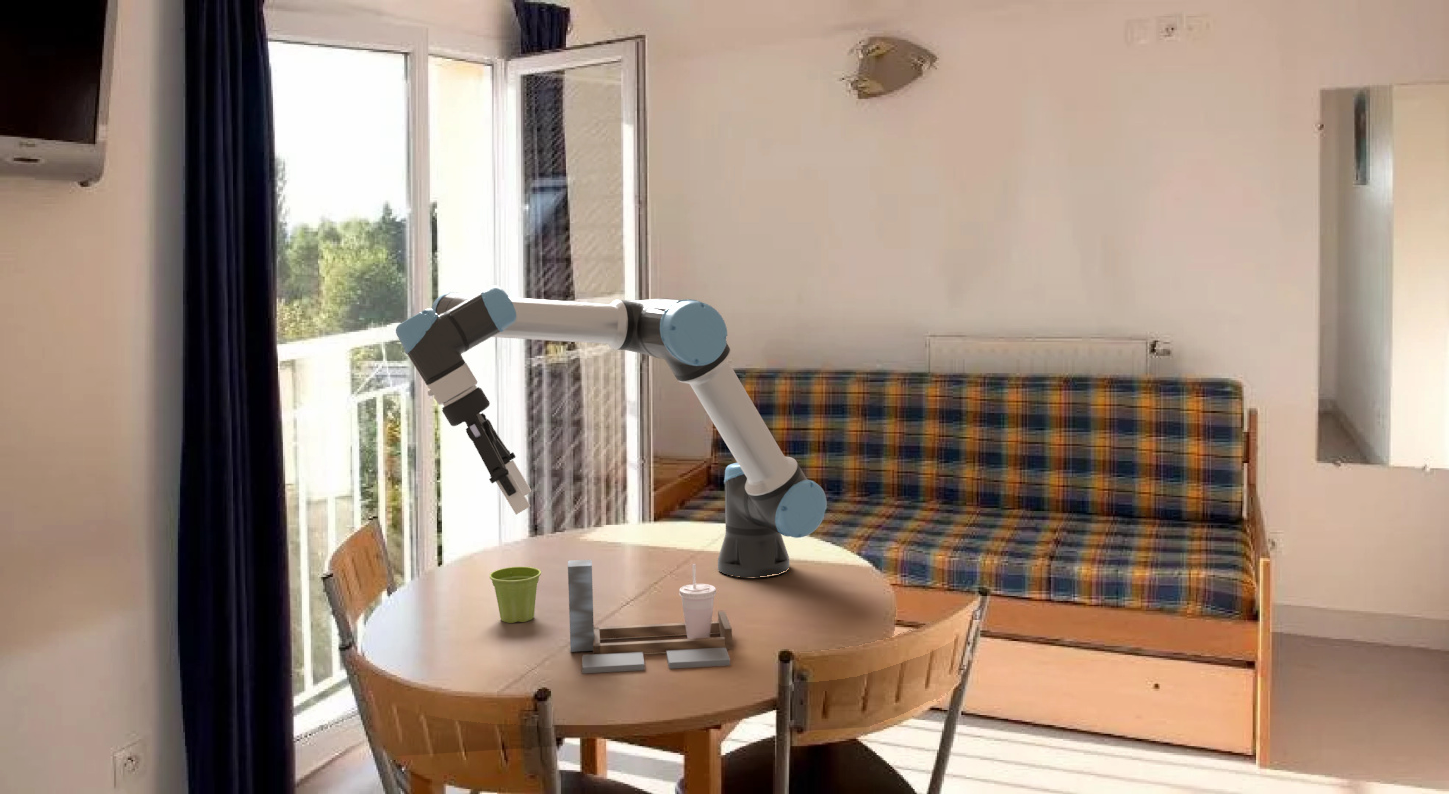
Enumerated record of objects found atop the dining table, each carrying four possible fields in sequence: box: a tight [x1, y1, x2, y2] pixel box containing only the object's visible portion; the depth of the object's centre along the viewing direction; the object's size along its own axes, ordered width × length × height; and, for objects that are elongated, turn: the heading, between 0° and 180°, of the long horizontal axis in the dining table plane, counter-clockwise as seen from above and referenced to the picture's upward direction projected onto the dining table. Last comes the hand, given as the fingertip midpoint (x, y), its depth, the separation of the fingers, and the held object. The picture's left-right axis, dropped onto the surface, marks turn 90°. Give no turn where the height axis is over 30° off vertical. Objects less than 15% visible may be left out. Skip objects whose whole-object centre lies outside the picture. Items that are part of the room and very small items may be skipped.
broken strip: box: [581, 647, 731, 674], centre depth 202 cm, size 24×6×1 cm, turn 97°
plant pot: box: [488, 566, 542, 624], centre depth 226 cm, size 9×9×9 cm
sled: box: [567, 559, 733, 655], centre depth 210 cm, size 27×10×15 cm, turn 97°
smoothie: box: [678, 563, 717, 639], centre depth 211 cm, size 6×6×14 cm
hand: (524, 502), depth 210 cm, fingers open, 13 cm apart
